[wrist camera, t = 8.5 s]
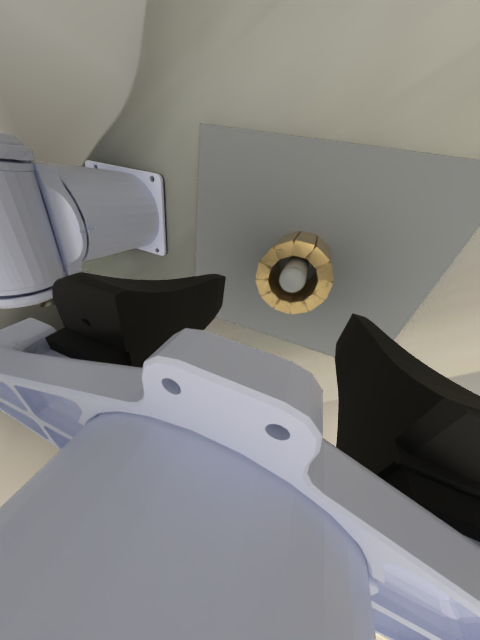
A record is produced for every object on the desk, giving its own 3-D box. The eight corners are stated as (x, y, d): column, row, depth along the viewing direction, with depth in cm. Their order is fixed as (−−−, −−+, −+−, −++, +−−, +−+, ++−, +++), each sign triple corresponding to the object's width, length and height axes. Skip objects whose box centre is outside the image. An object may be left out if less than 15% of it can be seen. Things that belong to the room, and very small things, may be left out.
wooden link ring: (263, 282, 21) (250, 301, 17) (278, 225, 18) (265, 232, 14) (316, 297, 20) (315, 322, 16) (341, 240, 17) (347, 253, 13)
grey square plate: (195, 307, 27) (167, 331, 22) (202, 125, 17) (154, 95, 12) (370, 366, 23) (383, 412, 18) (518, 166, 13) (640, 147, 8)
